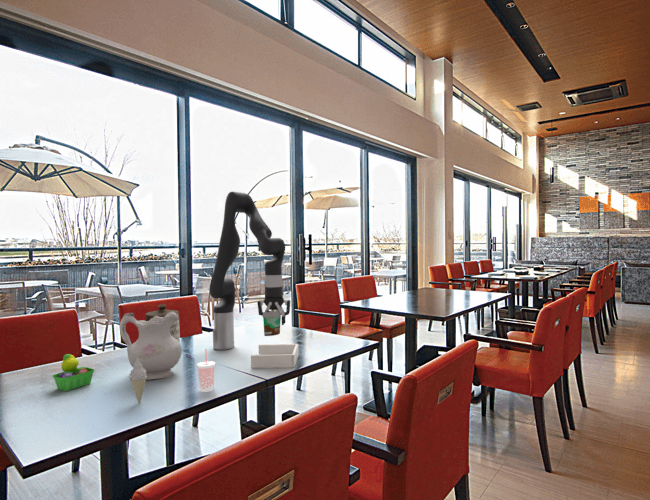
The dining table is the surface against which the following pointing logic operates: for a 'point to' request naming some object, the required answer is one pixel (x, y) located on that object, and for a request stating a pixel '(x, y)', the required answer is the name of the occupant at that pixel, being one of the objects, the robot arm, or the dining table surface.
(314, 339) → the dining table surface
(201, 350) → the dining table surface
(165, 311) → the lidded jar
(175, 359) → the ceramic pitcher
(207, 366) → the beverage cup
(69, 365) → the fruit basket
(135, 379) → the ice cream cone
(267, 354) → the box
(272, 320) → the food container
